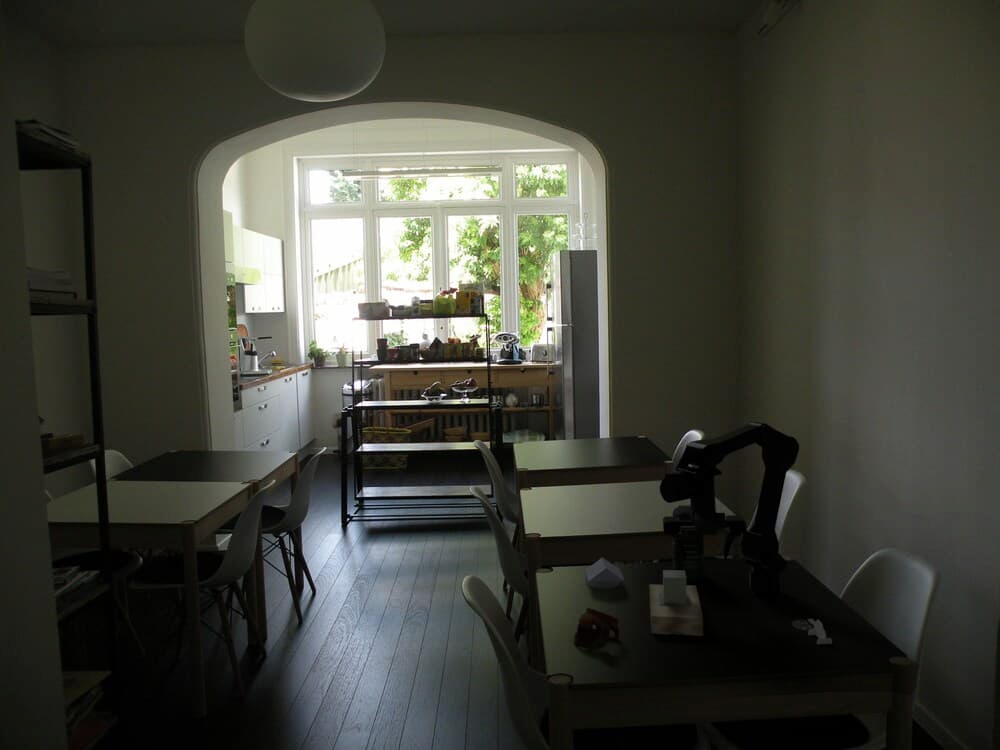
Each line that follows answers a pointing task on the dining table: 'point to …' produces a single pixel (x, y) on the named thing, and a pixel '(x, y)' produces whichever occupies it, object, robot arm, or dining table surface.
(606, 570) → the wedge on round base
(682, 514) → the coffee jar
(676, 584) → the sage block
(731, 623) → the dining table surface
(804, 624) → the grey curved piece
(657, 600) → the birch base
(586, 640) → the pottery mug
